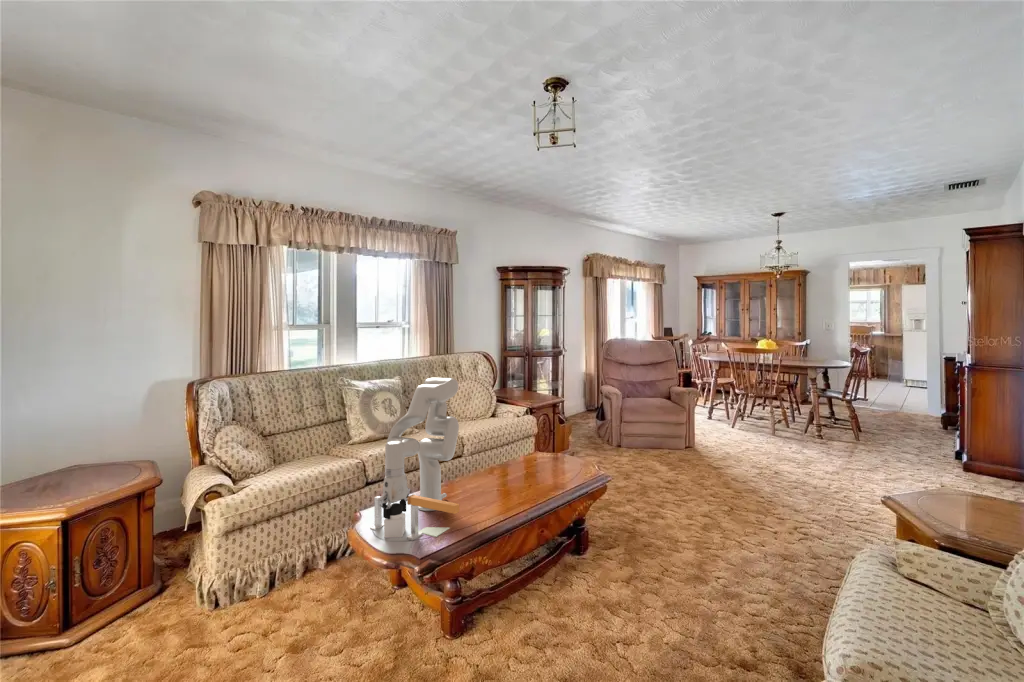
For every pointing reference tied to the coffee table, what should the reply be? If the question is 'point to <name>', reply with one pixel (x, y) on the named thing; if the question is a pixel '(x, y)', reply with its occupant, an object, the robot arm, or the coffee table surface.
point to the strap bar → (433, 504)
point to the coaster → (433, 531)
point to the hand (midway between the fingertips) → (395, 514)
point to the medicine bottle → (395, 522)
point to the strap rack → (414, 519)
